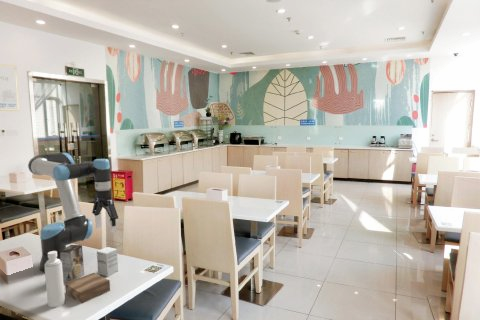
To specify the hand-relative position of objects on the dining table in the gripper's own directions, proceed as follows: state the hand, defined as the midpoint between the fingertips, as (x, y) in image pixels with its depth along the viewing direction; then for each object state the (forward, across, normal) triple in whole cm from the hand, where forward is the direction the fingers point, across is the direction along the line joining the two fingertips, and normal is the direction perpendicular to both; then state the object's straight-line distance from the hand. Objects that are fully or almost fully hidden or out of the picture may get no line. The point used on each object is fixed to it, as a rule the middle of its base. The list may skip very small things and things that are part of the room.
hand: (105, 229), depth 177 cm
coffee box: (+24, -9, -14) cm, 29 cm away
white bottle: (+24, +9, -31) cm, 40 cm away
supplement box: (+24, 0, 0) cm, 24 cm away
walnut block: (+24, +11, -17) cm, 31 cm away
